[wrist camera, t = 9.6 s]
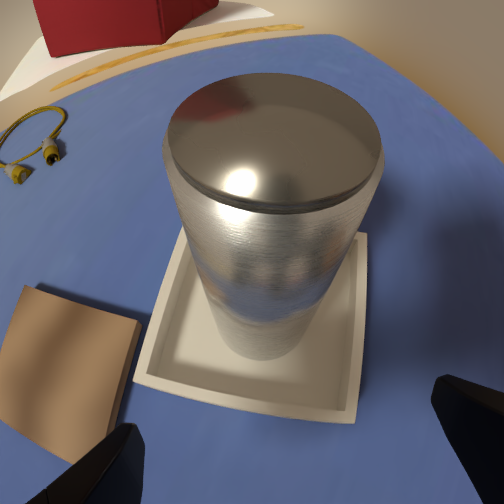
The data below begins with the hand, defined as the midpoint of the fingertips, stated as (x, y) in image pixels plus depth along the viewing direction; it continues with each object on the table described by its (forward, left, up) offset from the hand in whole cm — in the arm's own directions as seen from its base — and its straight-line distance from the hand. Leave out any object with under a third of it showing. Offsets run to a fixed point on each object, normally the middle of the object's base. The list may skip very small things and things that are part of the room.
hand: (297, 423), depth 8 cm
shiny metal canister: (+2, -6, -8) cm, 10 cm away
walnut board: (+14, +1, -9) cm, 17 cm away
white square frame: (+2, -6, -9) cm, 11 cm away
